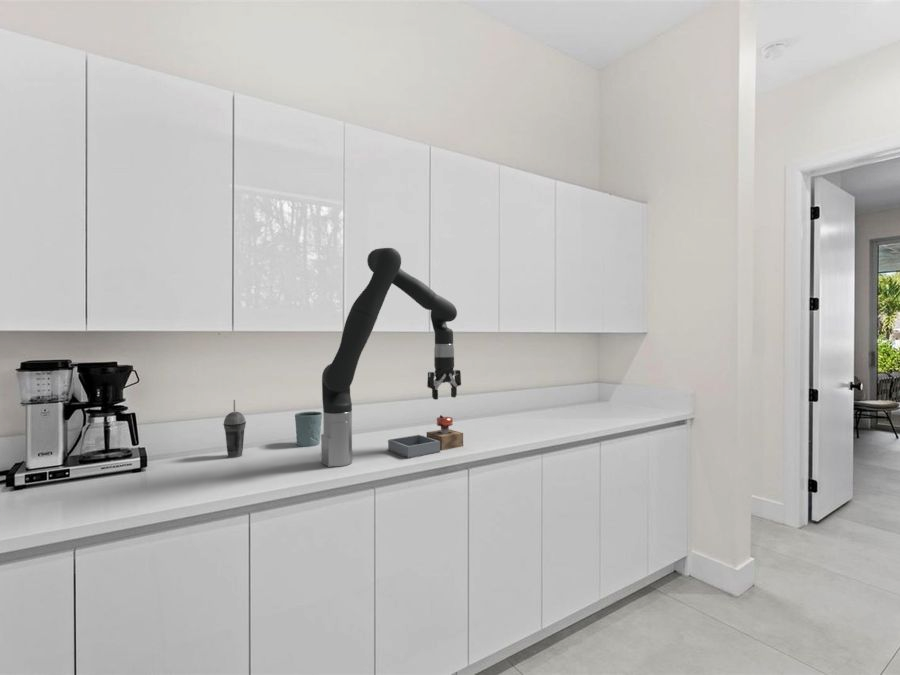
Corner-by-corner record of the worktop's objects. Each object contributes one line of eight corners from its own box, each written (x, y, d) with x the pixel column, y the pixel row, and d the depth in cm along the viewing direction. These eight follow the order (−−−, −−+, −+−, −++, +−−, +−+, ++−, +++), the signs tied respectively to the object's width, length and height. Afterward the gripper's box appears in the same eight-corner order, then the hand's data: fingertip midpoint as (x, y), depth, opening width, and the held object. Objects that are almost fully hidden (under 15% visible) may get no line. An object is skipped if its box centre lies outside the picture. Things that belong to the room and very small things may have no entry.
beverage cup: (246, 452, 170) (246, 397, 170) (245, 457, 163) (245, 400, 163) (224, 454, 167) (224, 398, 167) (222, 459, 160) (222, 401, 160)
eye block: (442, 450, 171) (441, 436, 171) (426, 445, 179) (426, 432, 179) (463, 446, 178) (463, 432, 177) (447, 441, 185) (447, 428, 185)
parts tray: (408, 458, 160) (407, 446, 160) (388, 450, 171) (388, 439, 171) (440, 452, 169) (439, 441, 169) (419, 445, 180) (419, 434, 179)
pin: (443, 448, 174) (443, 417, 174) (433, 445, 179) (433, 415, 179) (455, 445, 178) (455, 416, 178) (446, 443, 183) (446, 413, 183)
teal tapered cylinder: (290, 444, 182) (290, 413, 182) (314, 439, 189) (313, 410, 189) (303, 448, 175) (302, 416, 175) (327, 444, 182) (327, 413, 182)
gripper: (434, 357, 171) (435, 401, 171) (464, 355, 179) (465, 397, 179) (423, 356, 177) (423, 399, 177) (453, 354, 185) (453, 395, 185)
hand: (444, 398), depth 178 cm, fingers open, 8 cm apart
